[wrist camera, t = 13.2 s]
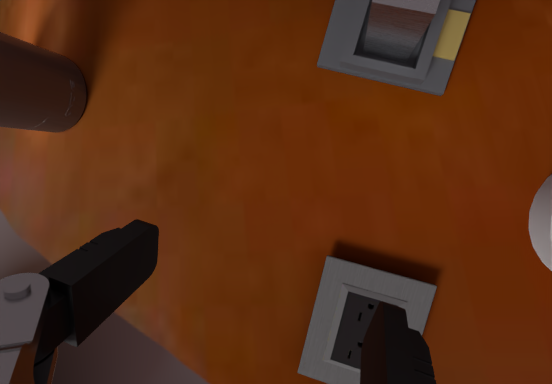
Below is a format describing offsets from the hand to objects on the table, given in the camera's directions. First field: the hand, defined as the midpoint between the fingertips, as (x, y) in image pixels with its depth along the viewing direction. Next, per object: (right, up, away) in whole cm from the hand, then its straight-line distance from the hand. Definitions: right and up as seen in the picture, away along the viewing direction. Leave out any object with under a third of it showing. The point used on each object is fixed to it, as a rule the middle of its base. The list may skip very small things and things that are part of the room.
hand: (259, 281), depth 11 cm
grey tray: (+12, +19, +19) cm, 29 cm away
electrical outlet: (+10, -11, +23) cm, 27 cm away
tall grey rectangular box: (+12, +19, +19) cm, 29 cm away
